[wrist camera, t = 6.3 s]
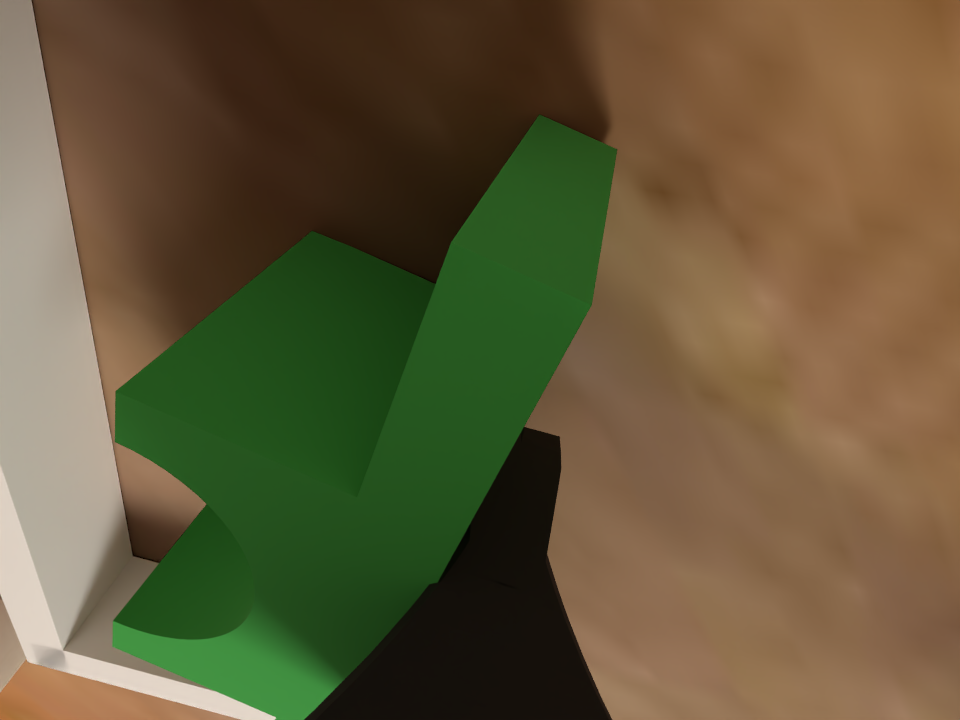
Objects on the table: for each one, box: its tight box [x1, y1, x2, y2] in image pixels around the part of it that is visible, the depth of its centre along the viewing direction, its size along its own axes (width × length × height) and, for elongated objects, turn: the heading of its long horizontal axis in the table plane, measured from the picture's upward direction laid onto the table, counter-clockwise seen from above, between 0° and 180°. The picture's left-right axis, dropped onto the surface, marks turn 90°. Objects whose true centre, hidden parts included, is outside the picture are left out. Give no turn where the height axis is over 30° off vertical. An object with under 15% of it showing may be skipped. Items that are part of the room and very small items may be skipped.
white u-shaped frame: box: [0, 0, 276, 720], centre depth 10 cm, size 9×17×2 cm, turn 168°
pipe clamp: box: [112, 114, 617, 720], centre depth 10 cm, size 11×4×5 cm, turn 160°
